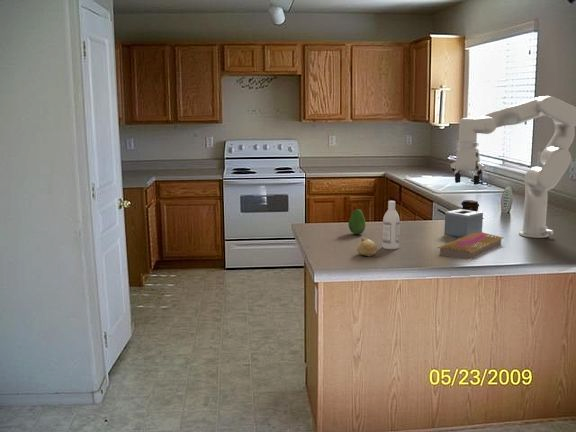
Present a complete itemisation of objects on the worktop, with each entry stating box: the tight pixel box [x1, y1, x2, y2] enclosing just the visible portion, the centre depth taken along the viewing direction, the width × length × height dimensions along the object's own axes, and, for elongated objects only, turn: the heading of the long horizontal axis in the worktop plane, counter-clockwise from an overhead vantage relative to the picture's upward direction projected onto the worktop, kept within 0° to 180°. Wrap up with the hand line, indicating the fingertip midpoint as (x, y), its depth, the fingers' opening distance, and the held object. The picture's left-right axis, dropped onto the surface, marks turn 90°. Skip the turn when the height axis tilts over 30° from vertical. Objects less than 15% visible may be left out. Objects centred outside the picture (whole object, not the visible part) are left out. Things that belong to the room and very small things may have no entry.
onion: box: [356, 237, 378, 257], centre depth 243 cm, size 8×8×7 cm
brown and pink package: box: [436, 231, 504, 261], centre depth 252 cm, size 35×14×6 cm, turn 141°
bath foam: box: [381, 200, 401, 250], centre depth 254 cm, size 7×7×20 cm
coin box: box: [443, 208, 484, 239], centre depth 279 cm, size 12×12×11 cm
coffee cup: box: [460, 199, 480, 212], centre depth 299 cm, size 9×8×13 cm
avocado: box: [348, 208, 366, 235], centre depth 282 cm, size 8×8×12 cm
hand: (466, 183), depth 275 cm, fingers open, 9 cm apart
